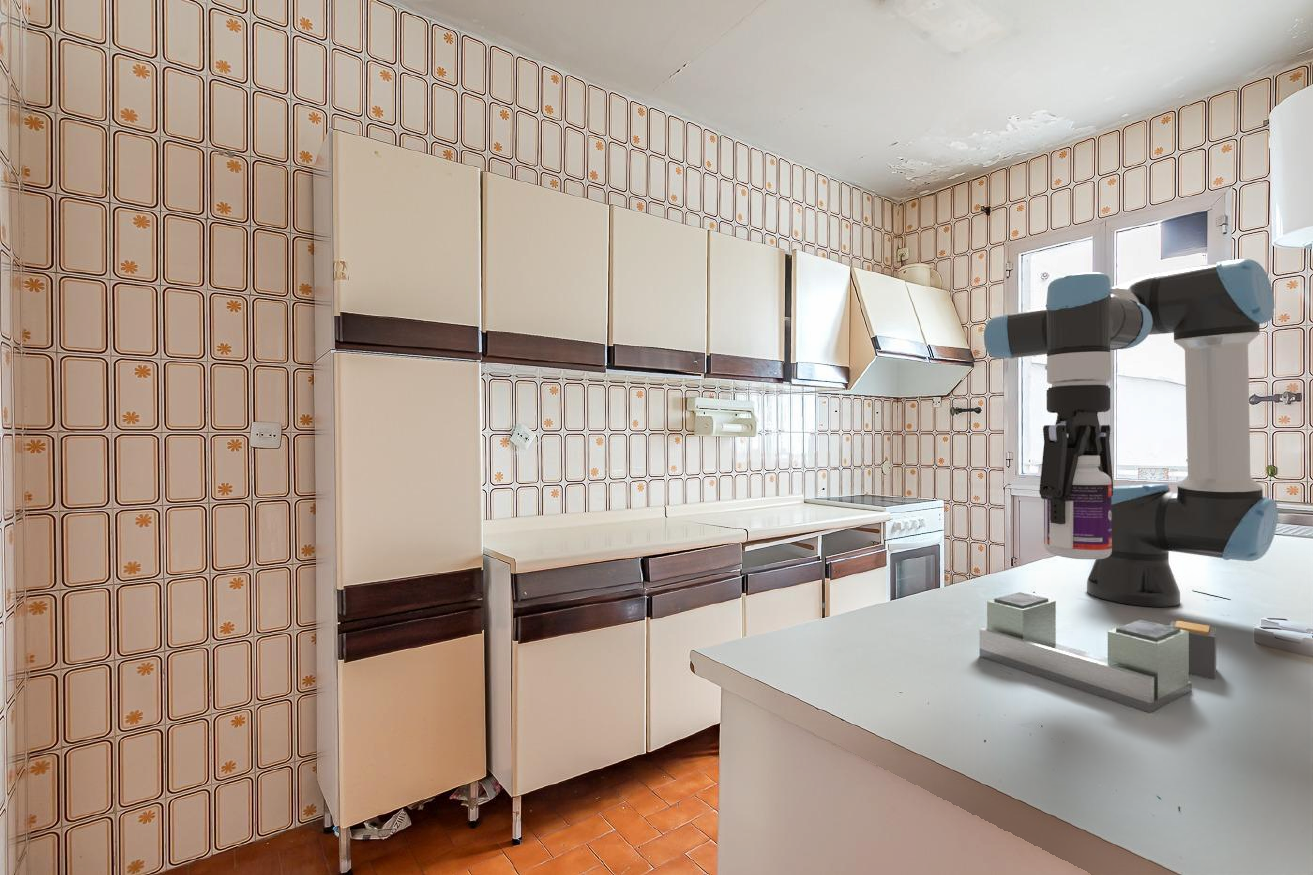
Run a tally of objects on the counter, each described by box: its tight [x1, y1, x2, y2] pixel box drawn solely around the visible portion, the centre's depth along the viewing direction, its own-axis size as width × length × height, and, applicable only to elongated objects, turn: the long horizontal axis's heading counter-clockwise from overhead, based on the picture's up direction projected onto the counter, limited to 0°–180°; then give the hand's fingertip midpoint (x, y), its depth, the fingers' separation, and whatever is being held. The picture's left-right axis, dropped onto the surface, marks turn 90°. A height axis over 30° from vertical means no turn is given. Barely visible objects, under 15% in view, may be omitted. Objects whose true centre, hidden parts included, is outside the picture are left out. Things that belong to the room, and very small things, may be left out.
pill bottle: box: [1043, 455, 1112, 560], centre depth 87 cm, size 8×8×14 cm
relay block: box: [1169, 620, 1218, 680], centre depth 88 cm, size 5×5×6 cm
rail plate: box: [978, 591, 1193, 714], centre depth 88 cm, size 12×22×9 cm, turn 30°
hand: (1077, 543), depth 87 cm, fingers closed on pill bottle, 8 cm apart
